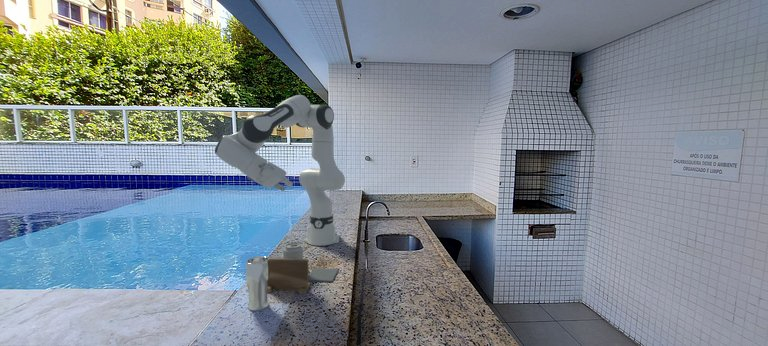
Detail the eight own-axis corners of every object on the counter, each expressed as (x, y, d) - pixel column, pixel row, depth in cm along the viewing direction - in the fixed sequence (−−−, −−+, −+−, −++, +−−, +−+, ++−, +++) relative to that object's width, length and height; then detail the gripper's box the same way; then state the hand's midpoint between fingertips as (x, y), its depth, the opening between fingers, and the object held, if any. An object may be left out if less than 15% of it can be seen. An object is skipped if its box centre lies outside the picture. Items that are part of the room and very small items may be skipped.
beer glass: (247, 313, 93) (246, 265, 92) (245, 303, 99) (244, 257, 98) (271, 308, 96) (271, 262, 95) (268, 298, 102) (268, 254, 101)
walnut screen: (272, 284, 113) (272, 255, 112) (310, 286, 112) (310, 257, 111) (265, 292, 107) (264, 261, 106) (304, 294, 106) (304, 263, 105)
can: (305, 271, 126) (305, 242, 125) (298, 278, 118) (298, 248, 117) (287, 269, 126) (287, 241, 125) (279, 277, 119) (279, 247, 118)
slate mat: (314, 269, 127) (314, 268, 127) (338, 270, 127) (338, 269, 127) (305, 280, 116) (305, 279, 116) (332, 282, 116) (332, 280, 116)
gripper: (268, 154, 111) (300, 176, 116) (256, 167, 128) (284, 185, 133) (258, 168, 108) (291, 189, 113) (247, 179, 125) (276, 197, 130)
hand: (288, 187), depth 123 cm, fingers open, 8 cm apart
